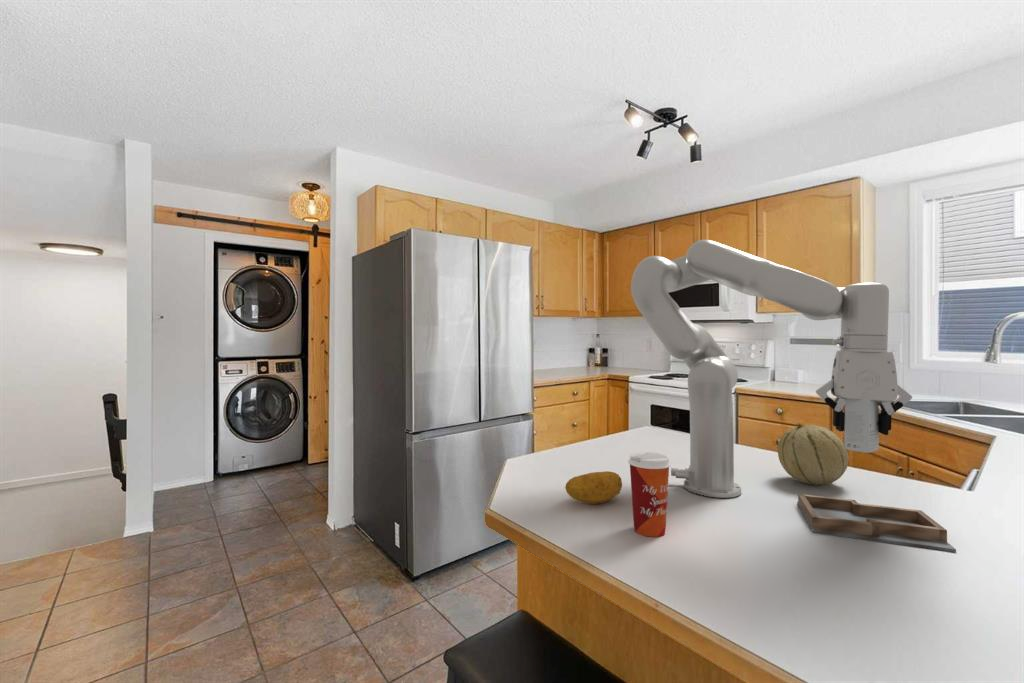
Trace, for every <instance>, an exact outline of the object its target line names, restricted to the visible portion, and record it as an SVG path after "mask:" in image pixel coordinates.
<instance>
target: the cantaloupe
mask: <svg viewBox="0 0 1024 683" xmlns="http://www.w3.org/2000/svg"><path fill="white" fill-rule="evenodd" d="M796 425H797V426H794V427H792V428H790V429H788V430H786V431H785V432H784V433H783V434H782V436H781V437H780V439H779V440H778V443H777V444H778V445H777V456H778V460H779V463H780V464H781V467H782V468H783V470H784V471H785V472H786V473H787V474H788V475H789V476H790V477H791V478H793V479H794V480H796V481H798V482H801V483H804V484H807V485H808V484H809V485H819V486H820V485H821V486H822V485H829V484H833V483H835V482H836V481H838V480H839V479H840V478H842V476H843V475H844V474H845V472H846V471H847V469H848V465H849V459H850V458H849V454H848V449H845V448H844V441H842V439H840V437H839V436H838V435H837V434H836V433H834V432H833V431H832V430H830V429H828V428H826V427H825V426H821V425H817V424H804V425H803V424H801V423H800V422H799V423H797V424H796Z"/></svg>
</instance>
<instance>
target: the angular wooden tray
mask: <svg viewBox="0 0 1024 683" xmlns="http://www.w3.org/2000/svg"><path fill="white" fill-rule="evenodd" d="M797 496H798V497H797V500H798V501H797V505H798V507H799V509H800V511H801V513H802V515H803V516H804V518H805V519H806V522H808V525H809V527H810V529H811V530H812V532H813V534H814V533H815V534H822V535H829V536H837V537H845V538H851V539H852V538H853V539H856V540H857V539H858V540H865V541H870V542H871V541H872V542H873V541H874V542H880V543H885V544H887V543H888V544H894V545H902V546H908V547H915V548H922V547H923V549H928V548H931V550H936V549H938V550H937V551H944V552H949V553H950V552H951V553H957V549H956V548H955V547H954V546H952V544H950V543H949V542H948V530H947V529H946V528H945V527H943V526H942V525H941V524H939V523H938V522H937V521H935V520H934V519H933V518H932V517H930V516H929V515H927V514H926V513H925V512H924V511H922V510H919V509H911V508H904V507H903V508H901V507H894V506H886V505H879V504H878V505H877V504H876V505H875V504H867V503H859V502H858V501H856V500H855V499H850V498H849V499H847V498H839V497H829V496H822V495H813V494H804V493H798V494H797Z"/></svg>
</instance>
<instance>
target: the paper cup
mask: <svg viewBox="0 0 1024 683" xmlns="http://www.w3.org/2000/svg"><path fill="white" fill-rule="evenodd" d="M627 462H628V464H629V471H630V487H631V489H630V490H631V502H632V504H631V505H632V517H633V518H632V519H633V527H634V528H633V529H634V531H635V532H636V533H637V534H638V535H641V536H643V537H648V538H659V537H663V536H664V535H665V534H666V528H667V527H666V526H667V525H666V524H667V513H668V512H667V511H668V492H669V475H670V474H669V473H670V467H671V466H672V464H671V462H670V459H669V457H668V456H667V455H666V454H662V453H657V452H651V451H637V452H632V453H631V454H630V456H629V459H628V460H627Z"/></svg>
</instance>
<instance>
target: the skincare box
mask: <svg viewBox="0 0 1024 683" xmlns="http://www.w3.org/2000/svg"><path fill="white" fill-rule="evenodd" d="M844 413H845V424H844V431H843V433H844V434H843V436H844V437H843V444H844V448H845V449H846V450H847V451H848V450H849V451H853V452H859V453H865V454H869V453H873V452H876V451H878V450H880V449H879V448H880V447H879V445H880V442H879V441H880V439H879V437H880V436H879V435H880V433H879V413H880V407H879V404H878V402H877V401H870V392H863V395H862V399H861V400H846V403H845V405H844Z"/></svg>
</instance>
